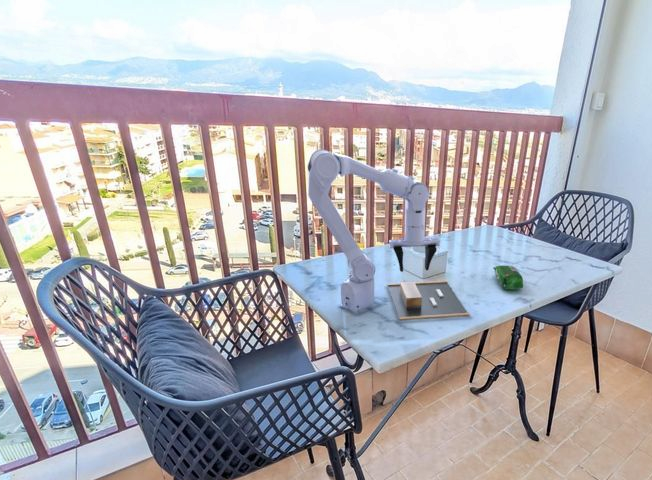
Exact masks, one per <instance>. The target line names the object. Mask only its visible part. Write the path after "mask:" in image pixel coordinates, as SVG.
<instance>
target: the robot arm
mask: <svg viewBox="0 0 652 480" xmlns="http://www.w3.org/2000/svg"><path fill="white" fill-rule="evenodd" d="M306 169H307V195H308V198H309V200H310V202H311V203H312V204H313V206H314V208H315V210H316V211H317V212H318V214H319V215H320V217H321V219H322V221H323V222H324V224H325V225H326V227H327V228H328V230H329V231H330V233H331V235H332V237H333V238H334V240H335V241H336V243H337V244H338V246H339V247H340V249H341V251H342V252H343V254H344V255H345V257H346V259H347V265H348V267H349V268H350V270H351V271H350V272H349V274H348V279H346V281H344V282H343V283H341V286H340V298H341V299H340V301H341V304H339V306H340V307H341V308H343V309H345V308H346V309H347V310H350V311H352V312H354V313H355V312H358V311H361V310H364V309H367V308H371V307H373V306H374V305H375V273H376V266H375V264H374V263H373V262H372V261H371V259H370V258H369V256H368V254H367V253H366V252H365V251H363V250H362V249H361V248H360V246H359V244H358V243H357V241H356V240H355V238H354V236H353V235H352V233H351V231H350V230H349V228H348V226H347V225H346V223H345V221H344V219H343V217H342V216H341V214H340V213H339V211H338V210H337V209H338V208H337V207H336V206H335V204H334V203H333V201H332V200H331V197H330V195H329V194H330V190H331V187H332V184H333V182H334V181H335V180H336V178H337V177H338V176H341V177H345V176H347V175H354V176H357V177H359V178H362V179H365V180H369V181H371V182H373V183H377V184H378V187H379V189H380V191H382V192H385V193H388V194H390V195H393V196H396V197H398V198H401V199H404V200H405V203H404V204H405V205H404V206H405V208H404V237H402V238H396V239H389V240H388V243H389V244H388V246H389V249H393V252H394V253H395V256H396V258H397V262H398V266H399V267H398V268H399V271H400V272H401V273H404V251H403V248H413V247H414V248H415V247H416V248H417V247H424V252H425V253H424V255H425V257H424V258H425V259H424V270H425V271H429V270H430V269H429V268H430V265H431V263H432V260H433V258H434V256H435V254H436V252H437V249H438V248H437V247H440V246H441V245H440V244H441V240H440V238H439V237H425V236H426V235H425V234H426V210H427V209H426V203H427V201H428V200H429V197H430V192H429V188H428V186H427V185H426V184H425V183H424V182H422V181H419V180H418V179H416V178H415V177H414V176H412V175H405V174H403V173H401V172H399V170H398V169H397V168H394V167H392V168H385V169H384V170H380V169H378V168H376V167H373V166H370V165H368V164H367V163H364V162H362V161H359V160H357V159H354V158H353V157H350V156H348V155H345V154H341V153H337V152H334V151H333V152H332V153H331V152H330V151H328V150H326V149H317V150H315V151H313V153H312V154H311V156H310V157H309V161H308V163H307V166H306Z"/></svg>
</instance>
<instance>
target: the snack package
mask: <svg viewBox="0 0 652 480" xmlns="http://www.w3.org/2000/svg"><path fill="white" fill-rule="evenodd" d="M493 270H494V276H495V278H496V280H497V281H498V283H499V285H500V287H502V288H503V289H504V290H520V289H523V288H524V279H523V276H522V274H521V273H520V272H519V270H518V269H517V268H516V267H515V266H514V265H496V266H495V267H493Z"/></svg>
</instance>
